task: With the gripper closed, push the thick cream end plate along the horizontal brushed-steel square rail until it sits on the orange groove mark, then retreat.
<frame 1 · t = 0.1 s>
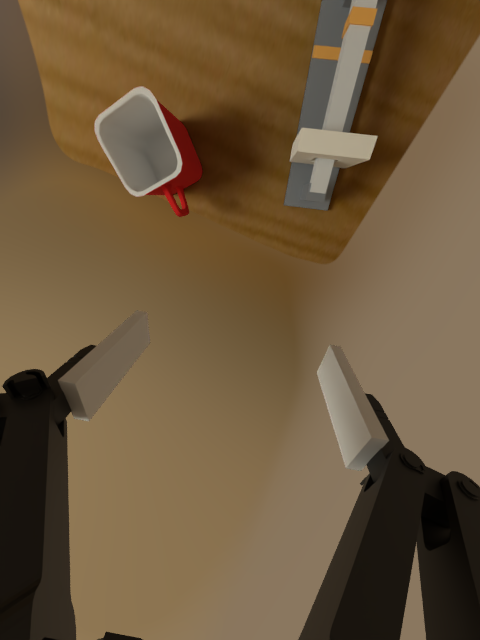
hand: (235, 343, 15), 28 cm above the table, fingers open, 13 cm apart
thick cream end plate: (326, 150, 26), point 6 cm above the table, slide at 0.0 cm
grey slide rail: (327, 112, 29), on the table
mug: (179, 174, 34), on the table
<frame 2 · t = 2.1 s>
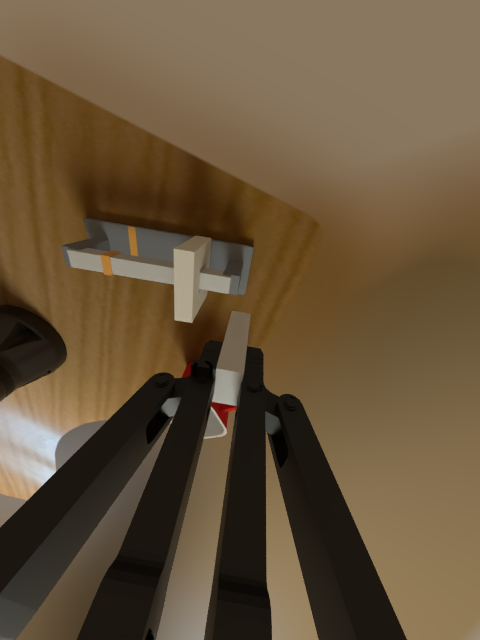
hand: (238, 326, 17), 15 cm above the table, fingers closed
thick cream end plate: (194, 276, 25), point 6 cm above the table, slide at 0.0 cm
grey slide rail: (171, 257, 30), on the table
mug: (218, 371, 41), on the table
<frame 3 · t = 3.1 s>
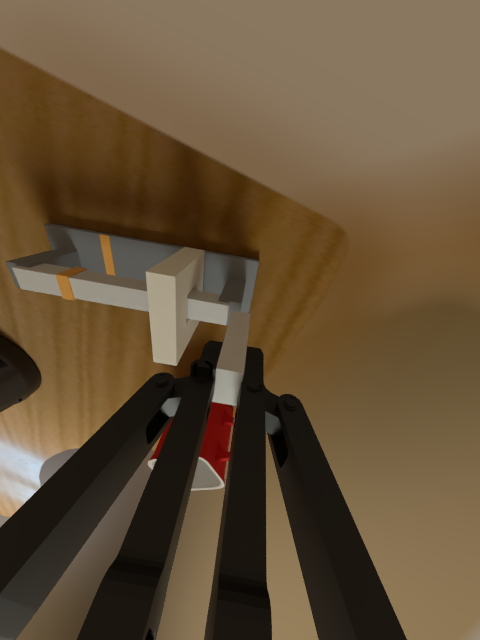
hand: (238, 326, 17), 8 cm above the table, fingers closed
thick cream end plate: (181, 302, 19), point 6 cm above the table, slide at 0.0 cm
grey slide rail: (156, 272, 24), on the table
mug: (216, 401, 35), on the table
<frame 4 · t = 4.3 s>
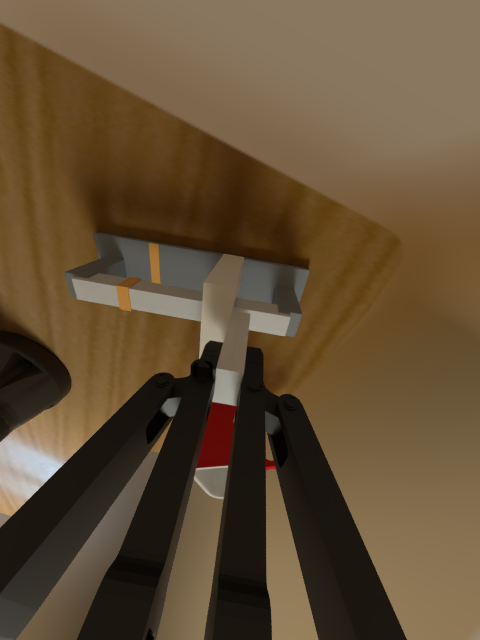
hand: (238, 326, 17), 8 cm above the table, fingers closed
thick cream end plate: (222, 309, 19), point 6 cm above the table, slide at 1.4 cm, touching gripper
grey slide rail: (201, 280, 24), on the table
mug: (248, 407, 35), on the table
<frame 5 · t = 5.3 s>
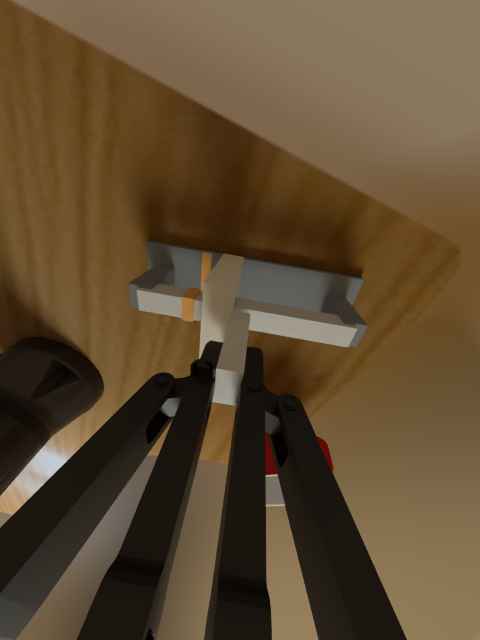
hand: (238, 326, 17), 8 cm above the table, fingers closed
thick cream end plate: (222, 309, 19), point 6 cm above the table, slide at 7.1 cm, touching gripper
grey slide rail: (249, 288, 24), on the table
mug: (281, 413, 35), on the table
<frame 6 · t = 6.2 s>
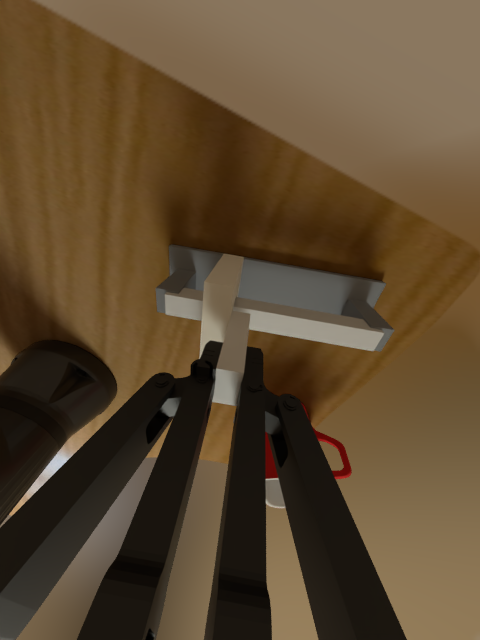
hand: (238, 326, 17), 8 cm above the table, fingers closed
thick cream end plate: (222, 309, 19), point 6 cm above the table, slide at 9.5 cm, touching gripper
grey slide rail: (269, 292, 24), on the table
mug: (295, 414, 35), on the table
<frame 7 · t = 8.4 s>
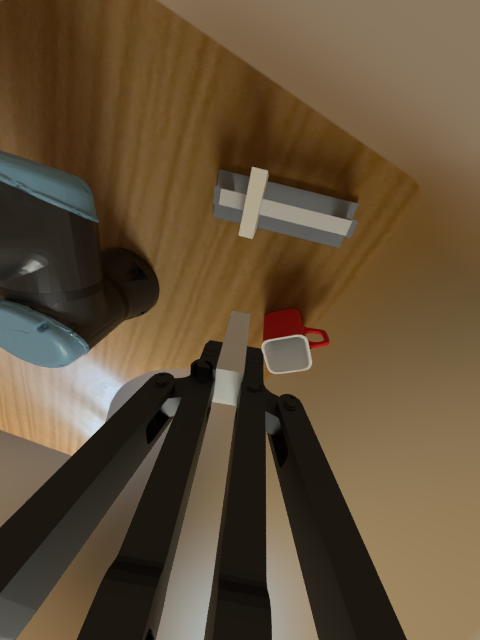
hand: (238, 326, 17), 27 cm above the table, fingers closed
thick cream end plate: (254, 204, 31), point 6 cm above the table, slide at 9.5 cm
grey slide rail: (282, 210, 36), on the table
mug: (291, 323, 47), on the table
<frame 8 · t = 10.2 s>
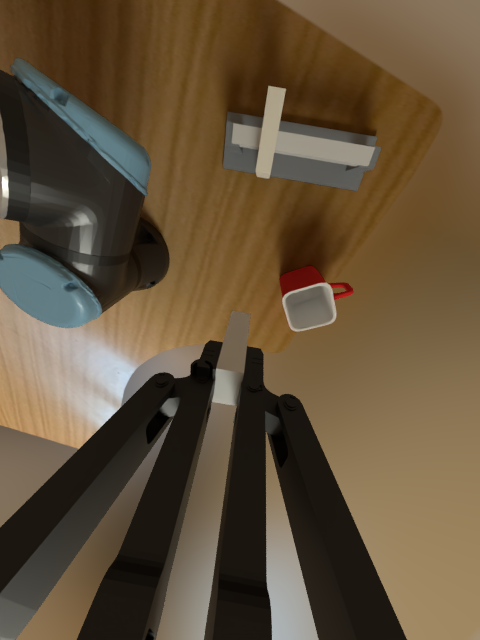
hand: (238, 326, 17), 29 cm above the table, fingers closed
thick cream end plate: (268, 141, 29), point 6 cm above the table, slide at 9.5 cm
grey slide rail: (295, 154, 34), on the table
mug: (308, 283, 45), on the table
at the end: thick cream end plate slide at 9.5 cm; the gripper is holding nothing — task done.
